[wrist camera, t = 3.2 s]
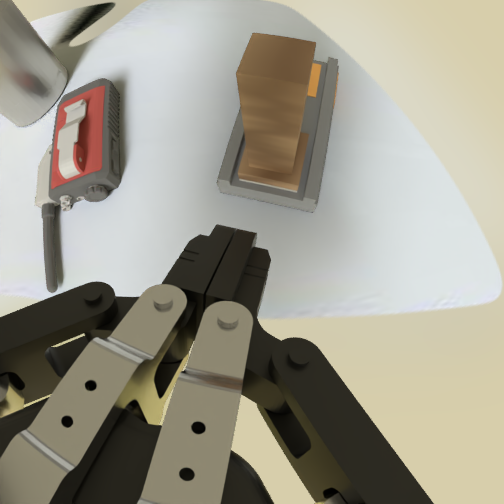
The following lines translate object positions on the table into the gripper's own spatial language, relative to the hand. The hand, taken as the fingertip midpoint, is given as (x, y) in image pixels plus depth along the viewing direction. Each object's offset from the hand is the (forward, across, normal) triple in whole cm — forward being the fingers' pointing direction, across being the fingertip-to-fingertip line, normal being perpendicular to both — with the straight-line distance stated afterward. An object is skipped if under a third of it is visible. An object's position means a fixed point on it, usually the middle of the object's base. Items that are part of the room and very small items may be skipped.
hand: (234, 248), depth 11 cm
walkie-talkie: (+11, +17, +4) cm, 21 cm away
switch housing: (+16, 0, -1) cm, 16 cm away
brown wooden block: (+11, 0, 0) cm, 11 cm away
